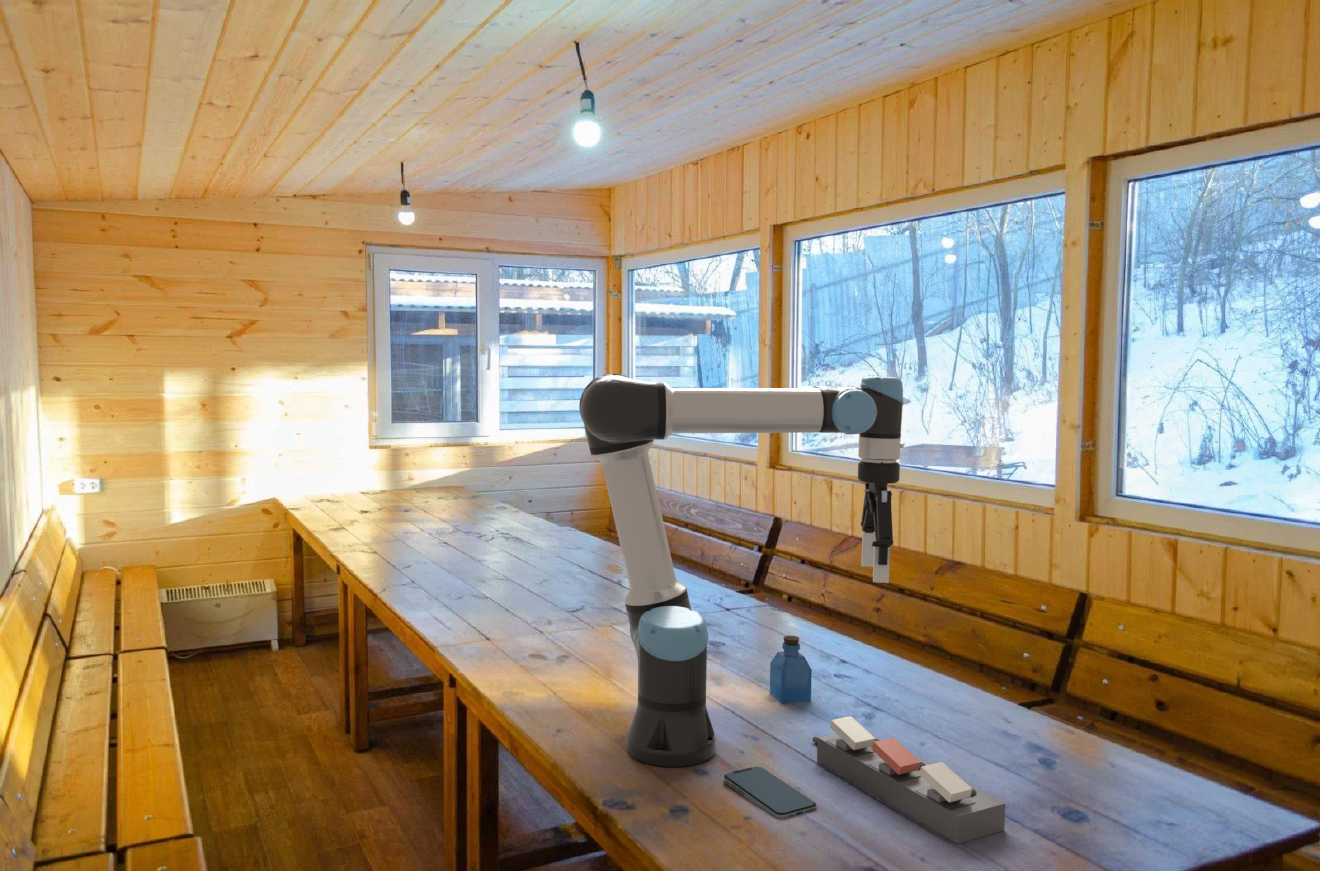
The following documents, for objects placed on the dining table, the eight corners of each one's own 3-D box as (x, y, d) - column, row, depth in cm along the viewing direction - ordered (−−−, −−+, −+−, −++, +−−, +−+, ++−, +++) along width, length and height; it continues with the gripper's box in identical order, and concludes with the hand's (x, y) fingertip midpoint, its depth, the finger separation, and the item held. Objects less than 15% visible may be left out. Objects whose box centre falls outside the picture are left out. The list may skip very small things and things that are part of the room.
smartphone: (779, 814, 145) (721, 773, 158) (778, 825, 146) (720, 783, 158) (819, 803, 149) (760, 764, 162) (819, 814, 149) (759, 774, 162)
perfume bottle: (781, 703, 194) (782, 643, 193) (769, 693, 200) (770, 634, 199) (810, 701, 196) (812, 640, 195) (798, 690, 202) (799, 632, 201)
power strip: (1004, 830, 143) (1005, 796, 142) (957, 844, 139) (958, 809, 138) (833, 737, 177) (834, 709, 177) (792, 746, 173) (792, 718, 172)
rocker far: (873, 745, 161) (875, 738, 161) (853, 750, 159) (855, 742, 159) (849, 723, 166) (850, 715, 166) (829, 727, 165) (831, 719, 164)
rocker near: (970, 796, 143) (972, 788, 142) (949, 802, 141) (951, 794, 140) (939, 769, 148) (941, 761, 148) (919, 774, 146) (921, 766, 146)
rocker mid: (918, 769, 152) (920, 761, 151) (898, 774, 150) (900, 766, 150) (891, 745, 157) (893, 737, 157) (871, 749, 155) (873, 741, 155)
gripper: (913, 468, 172) (908, 590, 173) (887, 454, 196) (883, 561, 198) (869, 467, 172) (864, 588, 174) (849, 453, 197) (844, 559, 198)
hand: (874, 574), depth 186 cm, fingers open, 13 cm apart
